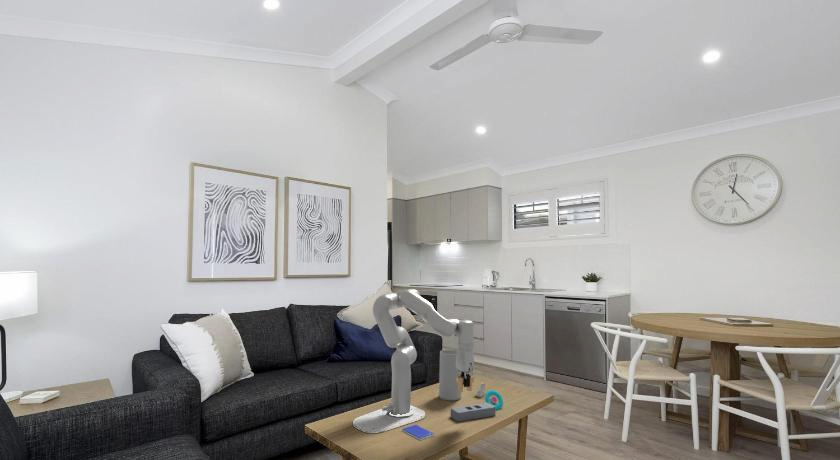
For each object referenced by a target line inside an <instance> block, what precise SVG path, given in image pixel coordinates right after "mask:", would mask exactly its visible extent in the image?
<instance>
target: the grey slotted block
mask: <svg viewBox="0 0 840 460" xmlns="http://www.w3.org/2000/svg"><path fill="white" fill-rule="evenodd" d="M496 411H497V410H496V407H495V406H493V405H491V404H489V403H486V402H484V403H476V404H475V403H474V404H470V405H462V406H456V407H451V408H450V417H451V418H452V419H454V420H456V421H457V422H458V423H459V422H463V421H470V420H474V419H475V420H476V419H480V418H481V419H482V418H486V417H493V416H496V415H497V414H496Z"/></svg>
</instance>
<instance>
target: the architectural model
mask: <svg viewBox="0 0 840 460" xmlns="http://www.w3.org/2000/svg"><path fill="white" fill-rule="evenodd" d="M485 391H486V383H485V382H479V385H478V387H477V388H476V389H475V392H477V393H476V395H477V396H476V397H478V398H481V397H484V396H485V395H486V392H485ZM483 395H484V396H483Z"/></svg>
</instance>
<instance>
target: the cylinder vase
mask: <svg viewBox="0 0 840 460" xmlns="http://www.w3.org/2000/svg"><path fill="white" fill-rule="evenodd" d="M456 354H457V349H456V350H455V349H441V350H440V351H439V375H438V376H439V379H438V380H439V381H438V383H439V385H438V397H439V398H440V399H442V400H444V401H458V400H460V399H461V398H462V392H459V391H458V383H457V382H456V377H459V376H460V375H459V370H458V369H457V368H456Z"/></svg>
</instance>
